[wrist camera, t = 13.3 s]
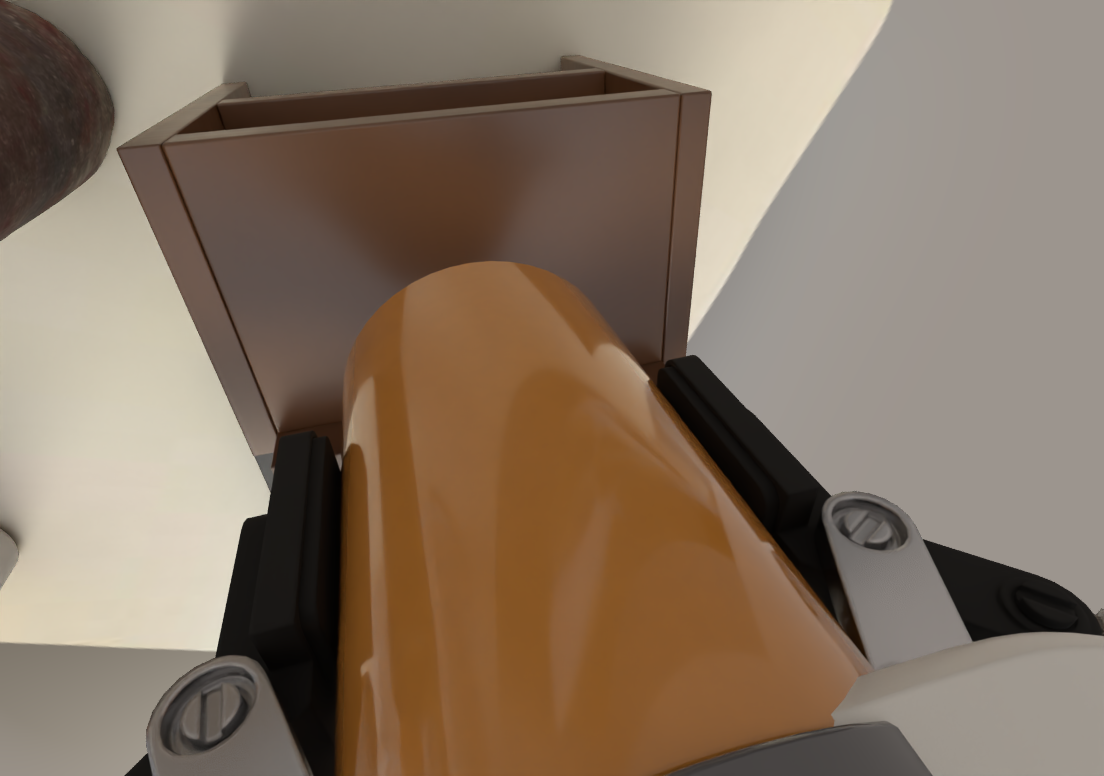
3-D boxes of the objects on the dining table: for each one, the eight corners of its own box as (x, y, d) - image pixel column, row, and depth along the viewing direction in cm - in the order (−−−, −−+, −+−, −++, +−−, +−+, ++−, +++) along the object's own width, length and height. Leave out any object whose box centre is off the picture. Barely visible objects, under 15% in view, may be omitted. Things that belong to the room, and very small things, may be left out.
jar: (291, 277, 11) (60, 1392, 2) (625, 228, 12) (1289, 809, 4) (370, 521, 15) (399, 1278, 6) (618, 463, 16) (929, 1018, 7)
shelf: (221, 83, 25) (86, 164, 13) (580, 54, 28) (745, 99, 16) (292, 297, 30) (244, 493, 18) (583, 254, 33) (706, 398, 21)
